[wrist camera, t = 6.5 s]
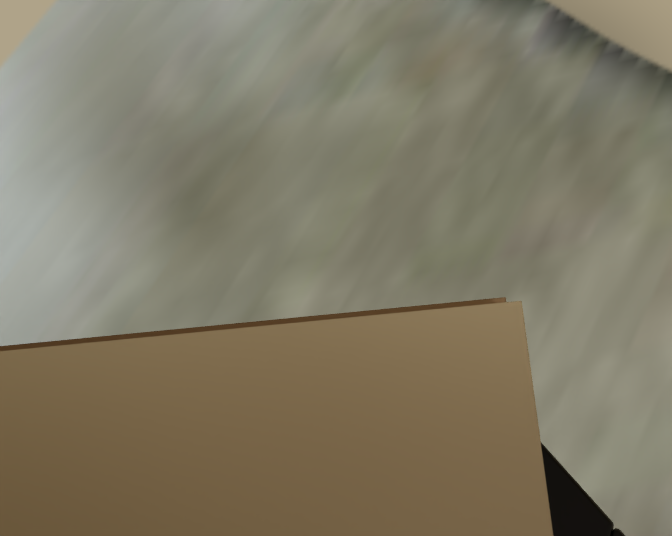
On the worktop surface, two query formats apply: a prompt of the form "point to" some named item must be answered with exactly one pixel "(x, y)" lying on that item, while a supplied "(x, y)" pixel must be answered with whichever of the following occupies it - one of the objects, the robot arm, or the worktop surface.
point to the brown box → (279, 429)
